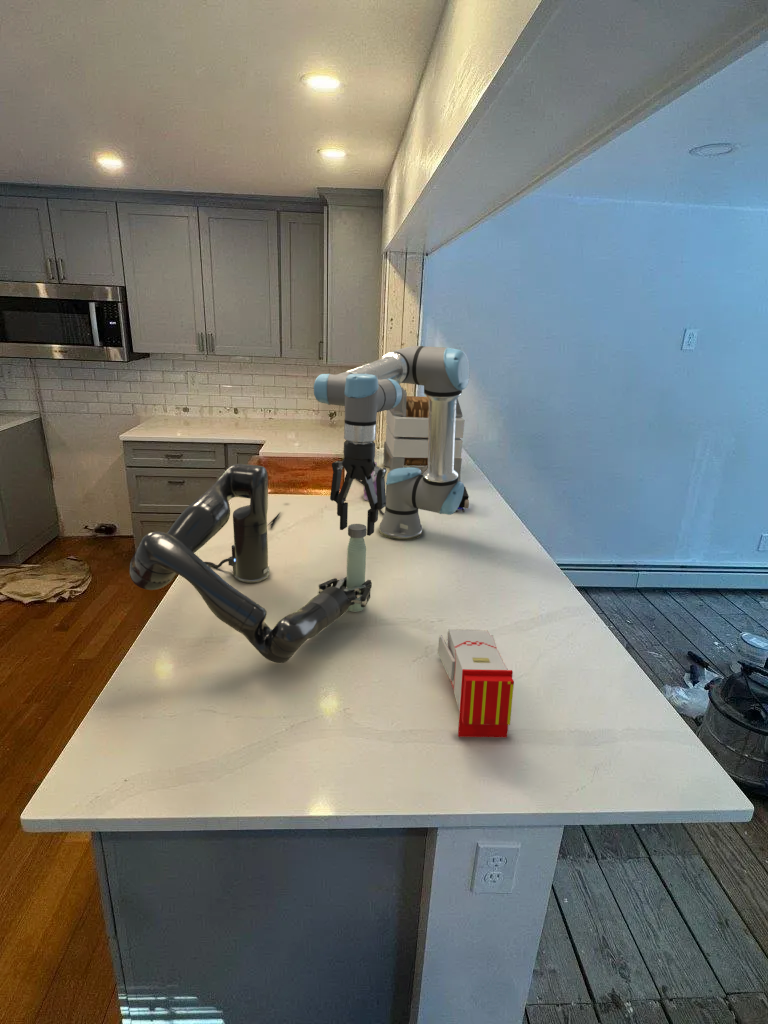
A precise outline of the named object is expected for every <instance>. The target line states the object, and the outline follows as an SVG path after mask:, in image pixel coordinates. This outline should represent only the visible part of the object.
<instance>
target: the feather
mask: <svg viewBox="0 0 768 1024" xmlns="http://www.w3.org/2000/svg"><path fill="white" fill-rule="evenodd" d="M280 514H281V512H279V513H278V514H276V516H275V517H274V518H273V519H272V520H271V521H270V522H269V523H267V527H268V526H269V525H270V529H272V528H273V526H274V525H275V522H276V521H277V519H278V517H279V515H280Z"/></svg>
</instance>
